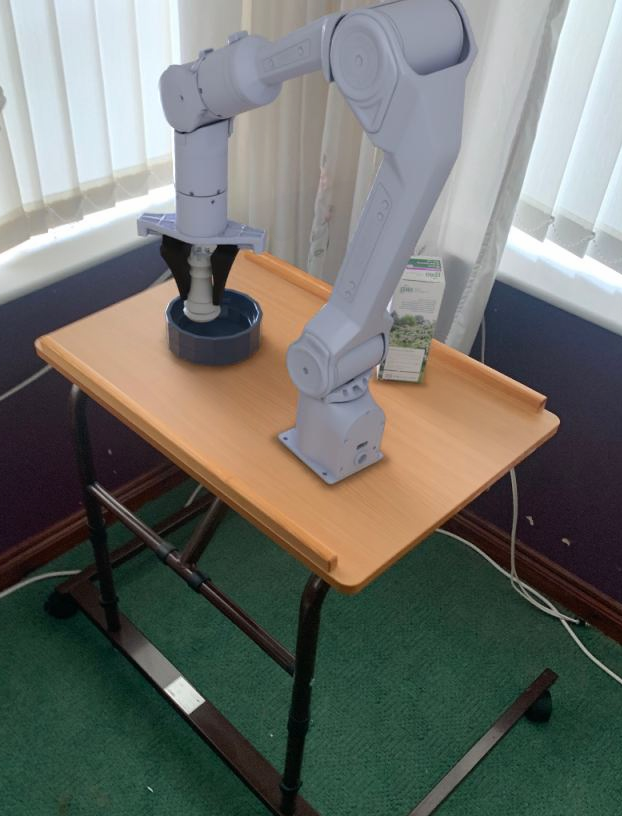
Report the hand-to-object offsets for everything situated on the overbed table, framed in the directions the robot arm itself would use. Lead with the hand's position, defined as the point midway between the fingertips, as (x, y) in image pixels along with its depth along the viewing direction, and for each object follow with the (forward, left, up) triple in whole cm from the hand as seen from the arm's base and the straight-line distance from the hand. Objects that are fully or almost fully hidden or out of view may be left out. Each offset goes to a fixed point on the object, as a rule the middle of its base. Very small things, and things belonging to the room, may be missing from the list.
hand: (202, 298), depth 94 cm
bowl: (+3, -4, -9) cm, 10 cm away
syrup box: (-15, -20, -9) cm, 26 cm away
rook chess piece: (0, 0, -2) cm, 2 cm away
